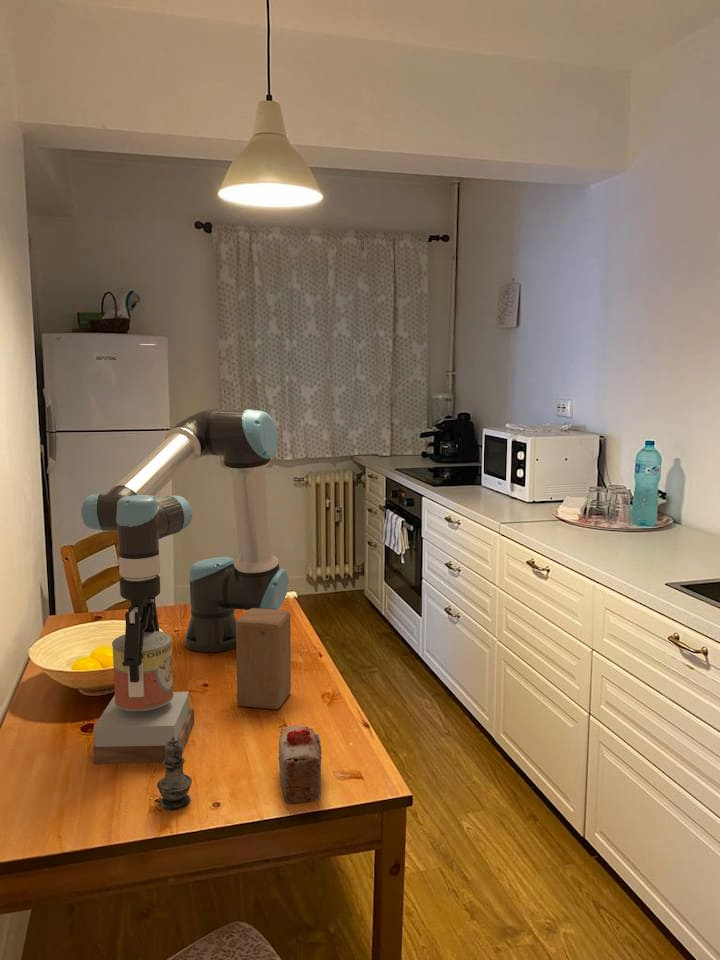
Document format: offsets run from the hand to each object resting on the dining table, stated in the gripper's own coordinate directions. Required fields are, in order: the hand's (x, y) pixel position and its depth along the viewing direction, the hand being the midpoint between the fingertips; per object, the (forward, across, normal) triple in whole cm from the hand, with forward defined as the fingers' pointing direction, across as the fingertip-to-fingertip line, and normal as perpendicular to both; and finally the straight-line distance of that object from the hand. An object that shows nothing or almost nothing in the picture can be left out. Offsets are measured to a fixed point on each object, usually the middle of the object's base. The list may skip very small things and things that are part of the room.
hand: (144, 683), depth 148 cm
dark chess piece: (+13, +21, +10) cm, 27 cm away
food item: (+13, +16, +32) cm, 37 cm away
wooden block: (+13, -19, +22) cm, 32 cm away
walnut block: (+13, 0, 0) cm, 13 cm away
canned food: (+3, 0, 0) cm, 3 cm away
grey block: (+9, 0, 0) cm, 9 cm away
